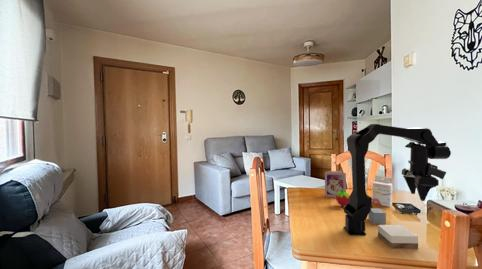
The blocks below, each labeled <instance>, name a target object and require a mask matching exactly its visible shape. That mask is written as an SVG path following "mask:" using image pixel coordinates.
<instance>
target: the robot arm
mask: <svg viewBox="0 0 482 269" xmlns="http://www.w3.org/2000/svg"><path fill="white" fill-rule="evenodd" d="M378 135H384V136H391V137H397V138H402V139H405V140H407V141H409V143H407V144H406V145H404V147H405V148H408V149H410V159H408V161H407V162H408V164H409V168H405V167H404V168H403V169H402V170H401V175H402V177H403V178H404V180H405V182H406V184H407V187H408V189H409V191H410V194H411V195H415V194H416V191H417V194H418V197H419V199H420V201H421V202H425V201H426V198H427V196H428V194H429V192H430V190H431V189H433V188H436V187H438V186H439V180H438V178H439V179H440V180H444V178H445V176H446V174H447V171H445V170H443V169H439V167H438V165H434V164H432V163H431V162H429V160H447V159H449V158H450V157H451V154H452V151H451V150H450V147H449V146H447V142H443V141H437V139H436V137H435V136H434V135H433V132H432V130H431V128H428V127H426V128H425V127H424V128H423V127H407V128H405V127H398V126H391V125H385V124H381V123H380V124H379V123H370V124H368V125H367V126H366V127H364V128H362V129H360V130H359V131H357V132H355V133H352V134H350V135H349V136H347V138H346V144H347V145H346V146H347V150H348V151H349V153H350V156H351V177H352V179H351V180H352V181H351V182H352V184H351V185H352V191H351V193H350V194H349V195H350V198H349V203H348V204H347V205H346V206H343V207H342V211H343V212H344V214H345V216H344V221H345V222H344V224H345V225H344V226H343V229H344V230H345V231H346V232H347V233H348V235H350V236H367V232H366V221H367V219H368V214H369V213H370V211H371V209H374V208H373V203H372V196H370V195H369V194H367V192H366V191H367V190H366V188H367V186H366V162H365V161H366V159H365V158H366V155H367V153H368V151H369V146H370V143H372V142H373V141H374V140H375V139H376V138H377V136H378Z"/></svg>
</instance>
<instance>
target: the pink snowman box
mask: <svg viewBox="0 0 482 269" xmlns="http://www.w3.org/2000/svg"><path fill="white" fill-rule="evenodd" d="M346 187H347V173H346V172H343V170H331V171H324V196H325V197H327V198H336V194H337V193H338V192H342V188H343V189H344V192H345V193H347V192H346V191H347V188H346Z"/></svg>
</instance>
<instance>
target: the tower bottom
mask: <svg viewBox="0 0 482 269" xmlns="http://www.w3.org/2000/svg"><path fill="white" fill-rule="evenodd" d="M377 237H379V239H380V240H381V241H383V242H384V243H385V244H386V245H387V246H388V247H389V248H391V249H397V250H398V249H400V250H403V249H405V250H407V249H408V250H409V249H410V250H411V249H412V250H417V249H419V242H418V243H391V242H390V241H388V240H387V239H386V238H385V237H384V236H383V235H382V234H380V233H379V232H378V231H377Z"/></svg>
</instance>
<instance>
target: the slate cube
mask: <svg viewBox="0 0 482 269" xmlns="http://www.w3.org/2000/svg"><path fill="white" fill-rule="evenodd" d="M367 219H368V220H369V221H370V222H371V223H372V224H374V225H387V224H386V223H387V220H386V219H387V212H385V210H383V209H381V208H371V211H370V213H369V214H368V216H367Z"/></svg>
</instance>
